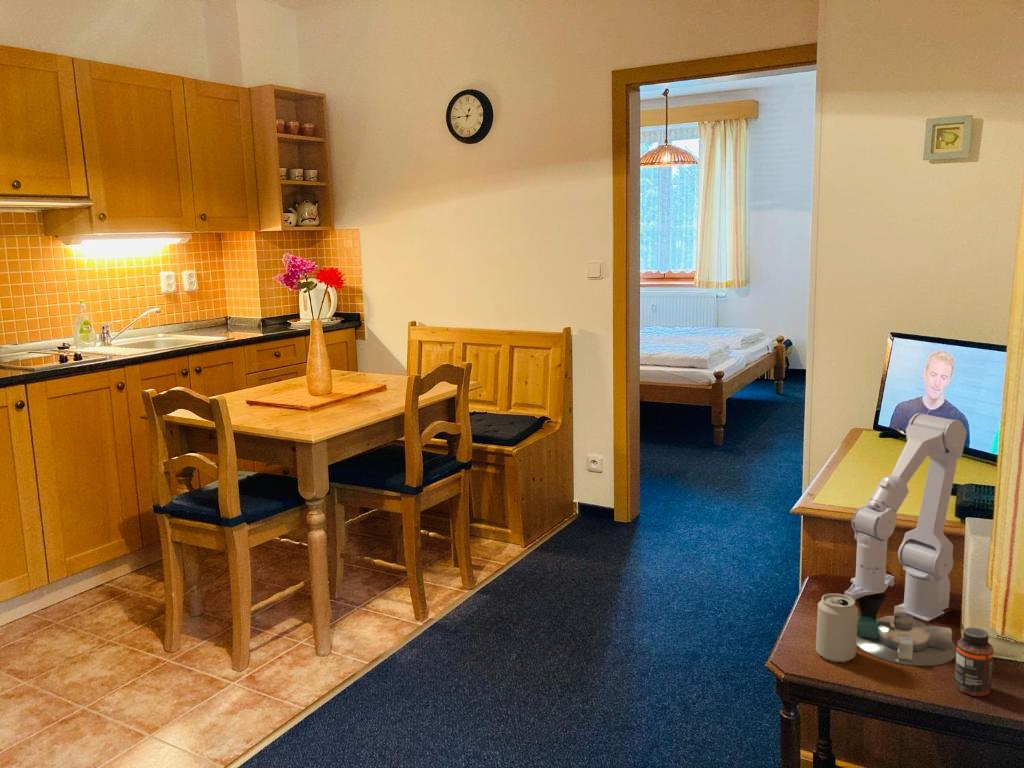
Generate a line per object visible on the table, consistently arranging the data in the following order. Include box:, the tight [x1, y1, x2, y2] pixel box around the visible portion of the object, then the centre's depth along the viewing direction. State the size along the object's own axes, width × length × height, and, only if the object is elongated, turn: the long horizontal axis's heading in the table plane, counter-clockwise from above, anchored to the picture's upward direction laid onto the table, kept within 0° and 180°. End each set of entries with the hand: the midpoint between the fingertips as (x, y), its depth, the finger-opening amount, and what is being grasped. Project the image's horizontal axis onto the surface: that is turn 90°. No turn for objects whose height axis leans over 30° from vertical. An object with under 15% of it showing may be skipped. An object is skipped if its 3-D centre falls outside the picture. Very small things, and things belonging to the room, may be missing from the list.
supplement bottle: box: [954, 627, 995, 697], centre depth 155 cm, size 6×6×11 cm
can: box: [815, 593, 859, 663], centre depth 168 cm, size 8×8×12 cm
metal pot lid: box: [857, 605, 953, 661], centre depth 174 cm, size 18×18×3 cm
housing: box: [856, 612, 957, 667], centre depth 174 cm, size 20×20×6 cm
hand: (867, 624), depth 179 cm, fingers closed, pressing on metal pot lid
